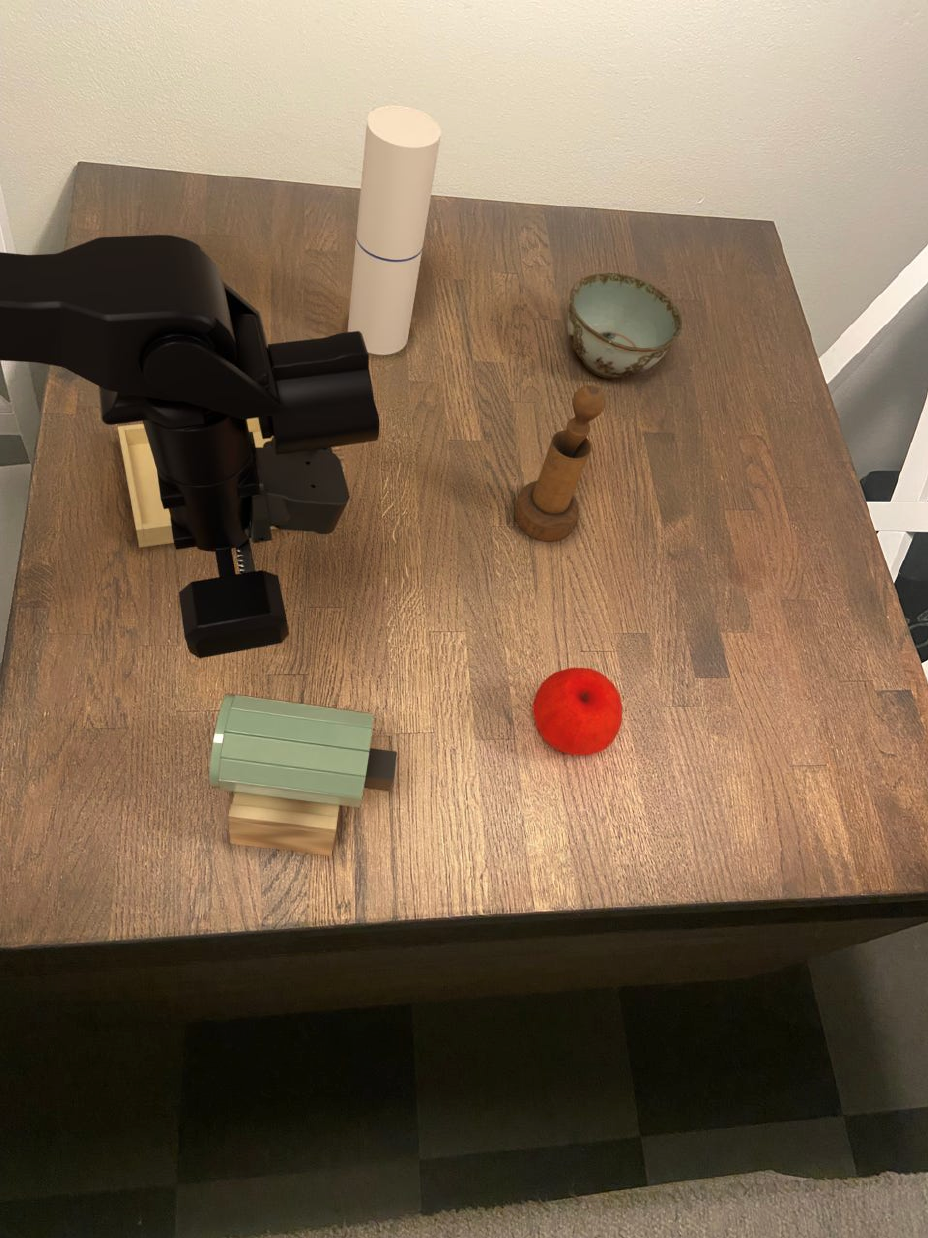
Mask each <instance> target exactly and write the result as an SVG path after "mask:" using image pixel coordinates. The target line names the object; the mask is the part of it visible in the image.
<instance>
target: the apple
mask: <svg viewBox="0 0 928 1238" xmlns="http://www.w3.org/2000/svg"><path fill="white" fill-rule="evenodd" d="M532 706H533V707H532V713H533V718H534V721H535V725H536V729H537V732H539V734H540V735H541V737H542V738H543V740H544V741H545V742H546V743H547V744H548V745H549V746H551V748H554V749H556V750H557V751H558V752H560V753H563V754H568V755H572V756H590V755H594V754H598V753H601V752H602V751H604V750H606V749H607V748H608V747H609V746H610V745H611V744H613V742H614V741H615V739H616V737H617V735H618V733H619V731H620V729H621V725H622V722H623V709H624V708H623V704H622V699H621V694H620V692H619V691H618V689H617V687H616V685H615V684H614V683H613V682H612V681H611V680H610V679H609V678H608V677H607V676H606V675H604V674H603V673H601V672H599V671H597V670H595V669H593V668H589V667H569V668H565V669H562V670H558V671H555V672H553V673H552V674H550V675H549V676H548V677H546V679H545V680H543V681H542V682H541V684H540V685H539V688H538V690H537V692H536V693H535V696H534V699H533V703H532Z"/></svg>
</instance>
